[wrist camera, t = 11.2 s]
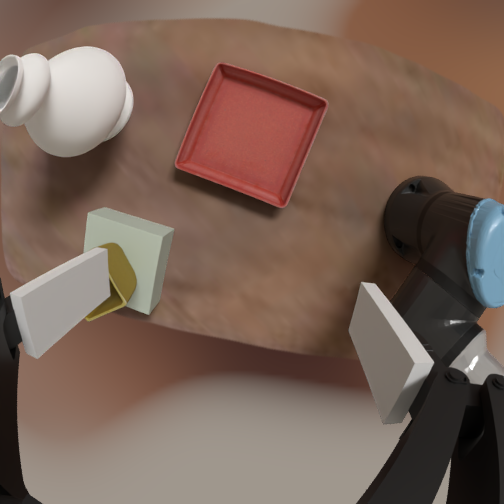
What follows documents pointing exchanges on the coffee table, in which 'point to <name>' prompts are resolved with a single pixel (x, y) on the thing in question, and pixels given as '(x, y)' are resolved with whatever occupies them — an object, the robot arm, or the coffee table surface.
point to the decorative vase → (66, 98)
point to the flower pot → (116, 282)
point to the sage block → (134, 250)
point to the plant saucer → (251, 133)
